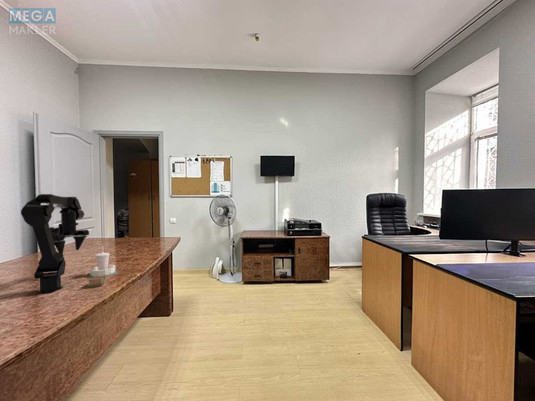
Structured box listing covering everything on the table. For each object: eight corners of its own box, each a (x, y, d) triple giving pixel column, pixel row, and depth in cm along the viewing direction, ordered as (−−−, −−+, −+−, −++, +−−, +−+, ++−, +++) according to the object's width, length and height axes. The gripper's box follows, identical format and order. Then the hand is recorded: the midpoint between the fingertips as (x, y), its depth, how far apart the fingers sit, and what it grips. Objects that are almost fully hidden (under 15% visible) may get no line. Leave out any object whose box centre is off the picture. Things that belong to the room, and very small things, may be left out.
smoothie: (111, 269, 130) (111, 244, 129) (108, 273, 124) (107, 246, 123) (98, 271, 128) (97, 245, 127) (93, 274, 122) (92, 247, 121)
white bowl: (105, 276, 120) (105, 270, 120) (85, 276, 121) (85, 270, 121) (119, 270, 131) (119, 264, 131) (101, 270, 131) (101, 264, 131)
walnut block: (101, 287, 107) (101, 278, 107) (89, 288, 106) (88, 279, 106) (106, 283, 112) (106, 275, 112) (94, 284, 111) (94, 276, 111)
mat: (118, 274, 125) (118, 273, 125) (90, 279, 117) (90, 278, 117) (114, 269, 134) (114, 268, 134) (88, 273, 126) (88, 273, 126)
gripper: (70, 219, 130) (70, 247, 130) (34, 223, 111) (35, 256, 112) (89, 219, 129) (90, 248, 129) (56, 223, 111) (57, 257, 111)
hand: (69, 252), depth 120 cm, fingers open, 9 cm apart
